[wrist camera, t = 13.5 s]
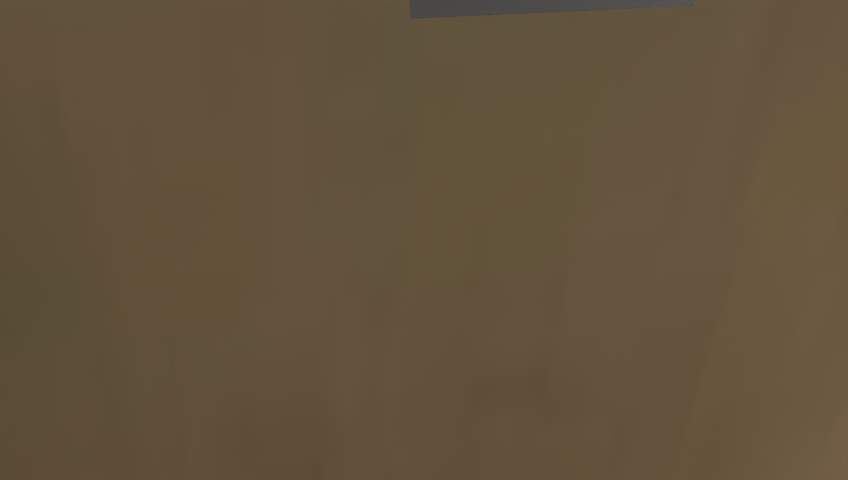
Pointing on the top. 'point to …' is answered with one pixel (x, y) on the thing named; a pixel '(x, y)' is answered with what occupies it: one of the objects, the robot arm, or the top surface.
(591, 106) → the top surface
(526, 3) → the block
